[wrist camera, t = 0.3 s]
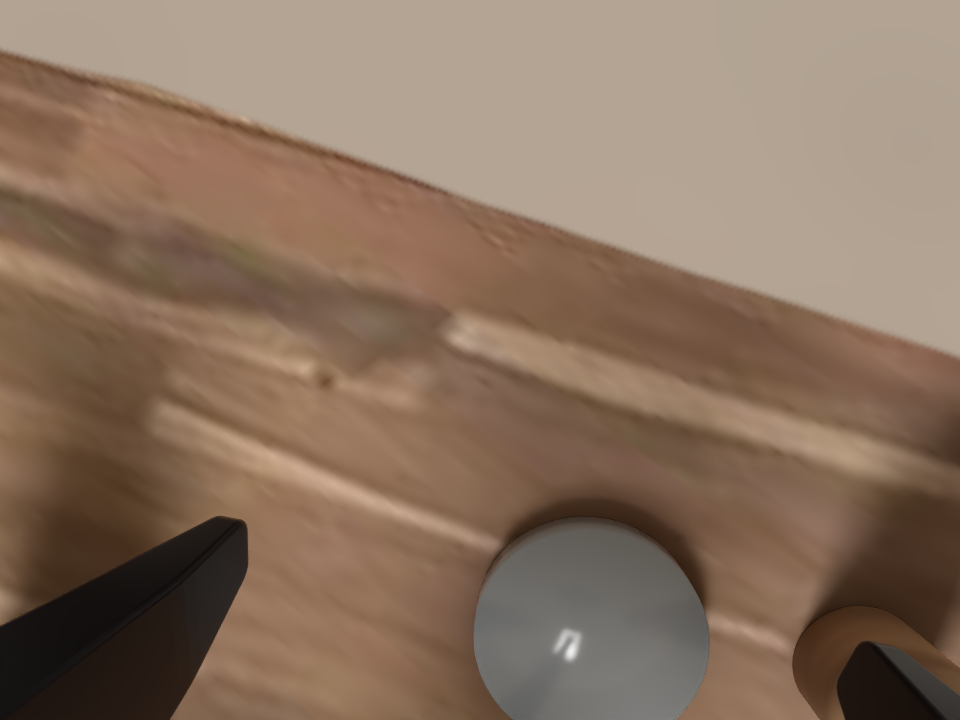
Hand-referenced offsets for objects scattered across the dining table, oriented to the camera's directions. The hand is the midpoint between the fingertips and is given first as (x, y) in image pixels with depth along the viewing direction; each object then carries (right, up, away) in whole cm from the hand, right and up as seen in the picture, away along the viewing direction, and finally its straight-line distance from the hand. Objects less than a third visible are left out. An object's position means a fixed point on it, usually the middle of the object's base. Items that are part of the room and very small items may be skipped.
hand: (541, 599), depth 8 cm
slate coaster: (+4, -8, +16) cm, 19 cm away
